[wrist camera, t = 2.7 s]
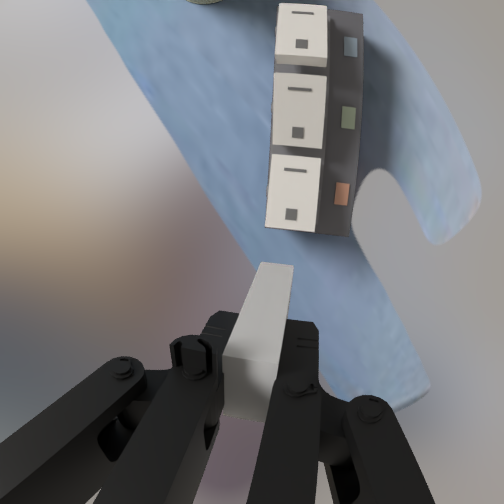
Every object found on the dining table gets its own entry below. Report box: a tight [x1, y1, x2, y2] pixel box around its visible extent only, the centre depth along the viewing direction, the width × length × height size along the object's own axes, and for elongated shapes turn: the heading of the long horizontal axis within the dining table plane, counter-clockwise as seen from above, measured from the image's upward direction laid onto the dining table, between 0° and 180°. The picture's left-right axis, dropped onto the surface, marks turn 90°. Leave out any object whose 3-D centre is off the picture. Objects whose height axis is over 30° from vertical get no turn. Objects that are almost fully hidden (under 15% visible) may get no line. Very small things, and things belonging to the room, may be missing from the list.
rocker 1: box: [275, 3, 330, 67], centre depth 19 cm, size 6×4×2 cm
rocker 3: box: [265, 154, 321, 232], centre depth 24 cm, size 6×4×2 cm
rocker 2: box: [271, 72, 327, 149], centre depth 22 cm, size 6×4×2 cm
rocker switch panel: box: [265, 6, 364, 237], centre depth 26 cm, size 22×8×6 cm, turn 177°
